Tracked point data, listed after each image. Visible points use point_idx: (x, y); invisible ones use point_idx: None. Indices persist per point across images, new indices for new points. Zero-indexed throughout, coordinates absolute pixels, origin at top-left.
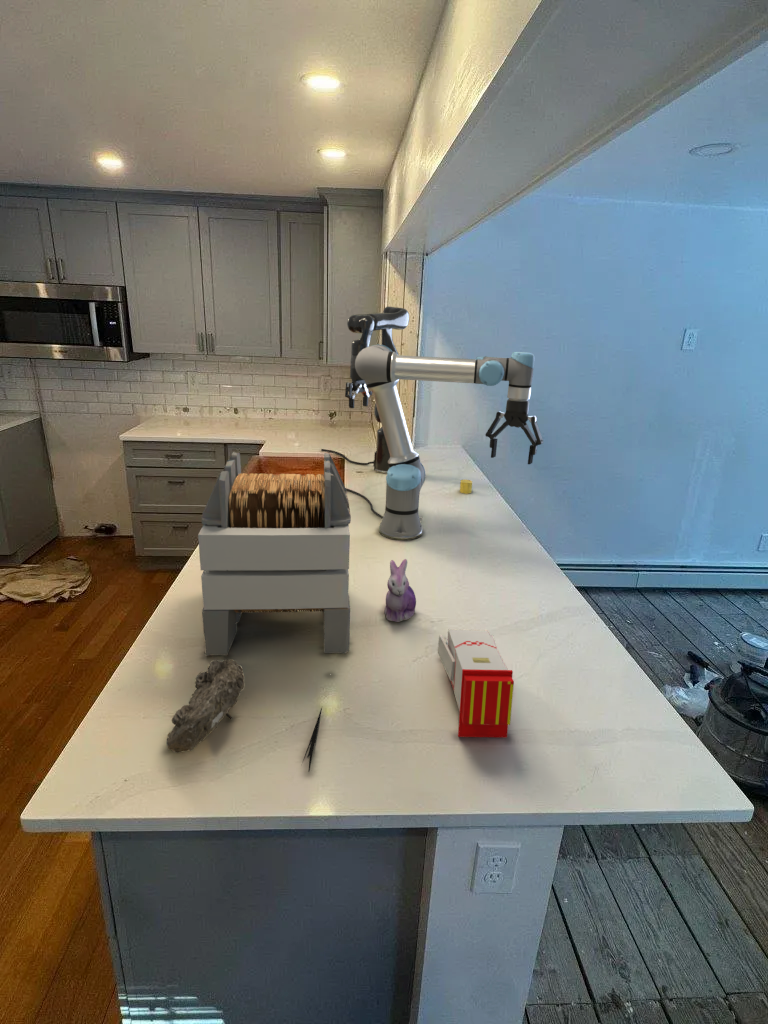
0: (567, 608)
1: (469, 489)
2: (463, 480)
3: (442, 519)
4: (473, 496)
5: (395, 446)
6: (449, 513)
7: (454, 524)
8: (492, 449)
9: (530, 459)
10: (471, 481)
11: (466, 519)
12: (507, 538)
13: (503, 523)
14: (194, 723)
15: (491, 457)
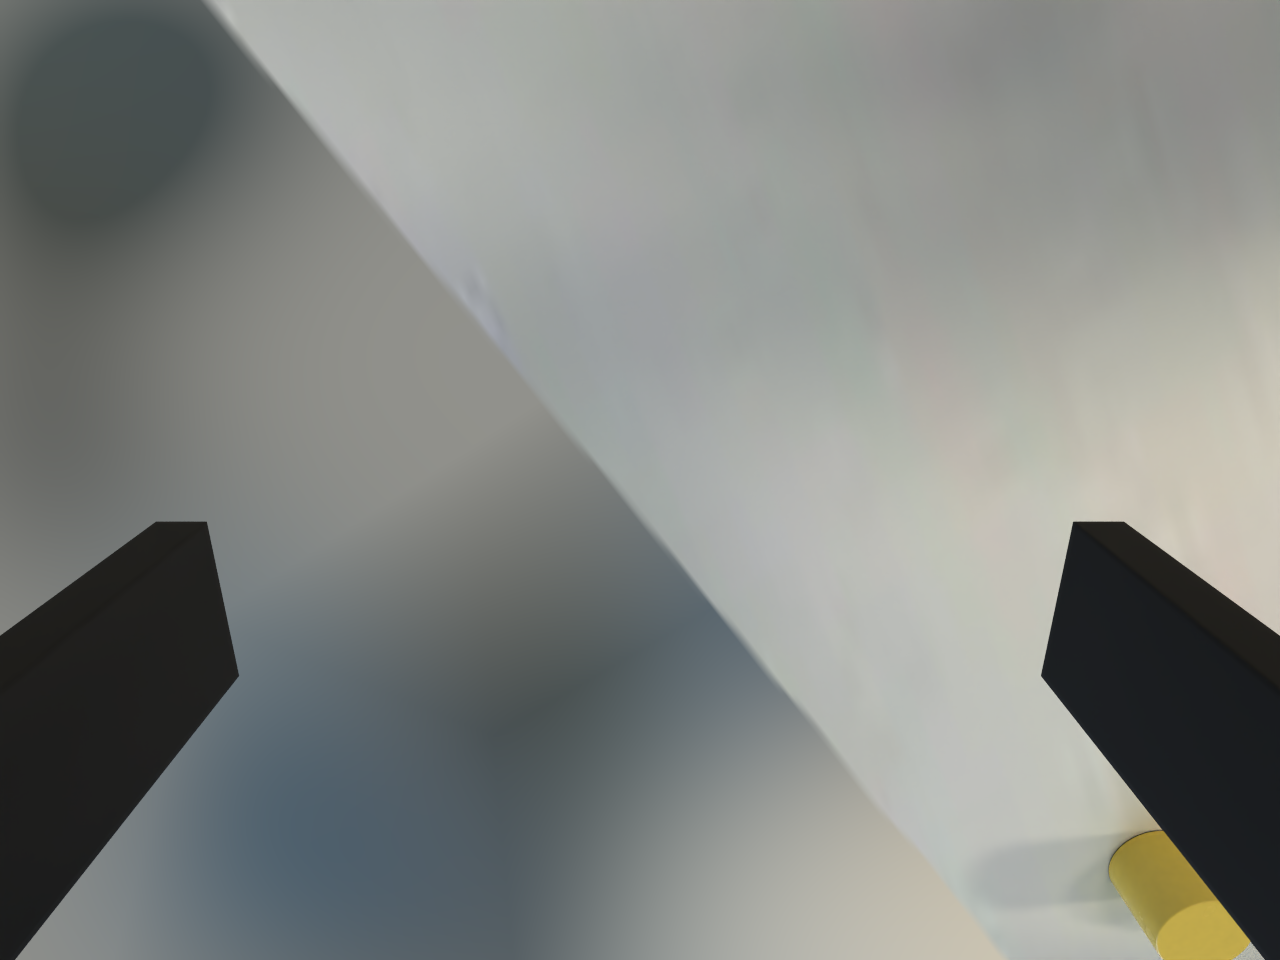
0: None
1: (1136, 873)
2: (1233, 937)
3: (1160, 200)
4: (1072, 816)
5: None
6: (1143, 377)
7: (1029, 153)
8: (1242, 626)
9: (85, 591)
10: (1166, 950)
11: (973, 337)
12: (534, 143)
13: (688, 443)
14: None
15: (1108, 525)
